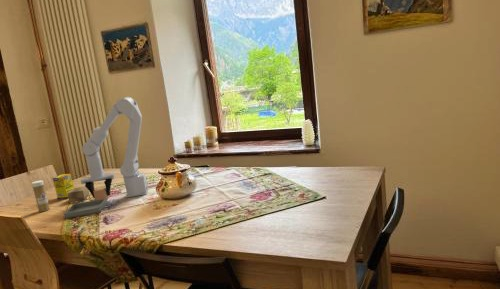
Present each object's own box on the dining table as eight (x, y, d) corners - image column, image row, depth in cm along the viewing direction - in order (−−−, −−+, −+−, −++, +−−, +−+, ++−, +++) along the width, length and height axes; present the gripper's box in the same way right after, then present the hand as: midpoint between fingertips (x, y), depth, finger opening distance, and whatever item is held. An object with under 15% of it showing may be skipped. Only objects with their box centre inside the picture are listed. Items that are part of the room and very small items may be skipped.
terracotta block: (109, 196, 179) (107, 186, 178) (106, 200, 174) (104, 189, 173) (98, 198, 179) (96, 188, 178) (95, 202, 174) (93, 191, 173)
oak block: (89, 196, 186) (87, 186, 185) (85, 200, 179) (82, 190, 178) (74, 198, 185) (72, 188, 184) (69, 203, 178) (67, 193, 177)
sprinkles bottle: (44, 212, 169) (36, 182, 167) (36, 212, 171) (28, 183, 168) (52, 208, 174) (45, 179, 171) (44, 208, 175) (37, 180, 173)
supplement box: (68, 198, 186) (62, 177, 184) (57, 199, 187) (52, 178, 185) (75, 194, 191) (70, 173, 189) (65, 195, 193) (60, 174, 191)
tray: (107, 203, 169) (106, 198, 169) (100, 212, 157) (99, 207, 157) (74, 208, 168) (73, 204, 167) (64, 218, 156) (63, 213, 156)
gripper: (113, 162, 178) (119, 190, 181) (81, 168, 177) (88, 196, 180) (110, 166, 171) (116, 195, 174) (76, 171, 170) (83, 201, 173)
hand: (102, 196), depth 176 cm, fingers open, 6 cm apart
